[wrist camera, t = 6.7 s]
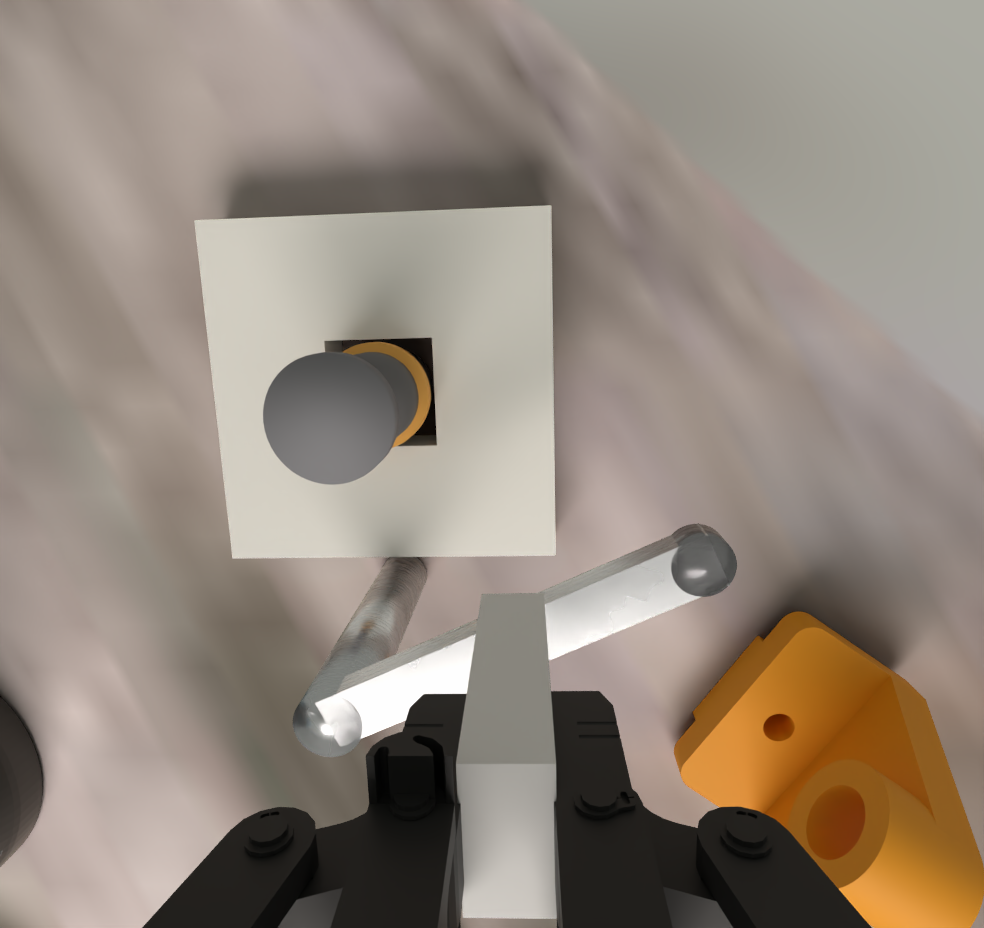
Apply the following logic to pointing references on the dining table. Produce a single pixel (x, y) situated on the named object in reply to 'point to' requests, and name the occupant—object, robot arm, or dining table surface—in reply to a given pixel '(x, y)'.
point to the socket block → (390, 315)
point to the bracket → (840, 773)
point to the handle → (447, 658)
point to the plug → (345, 410)
